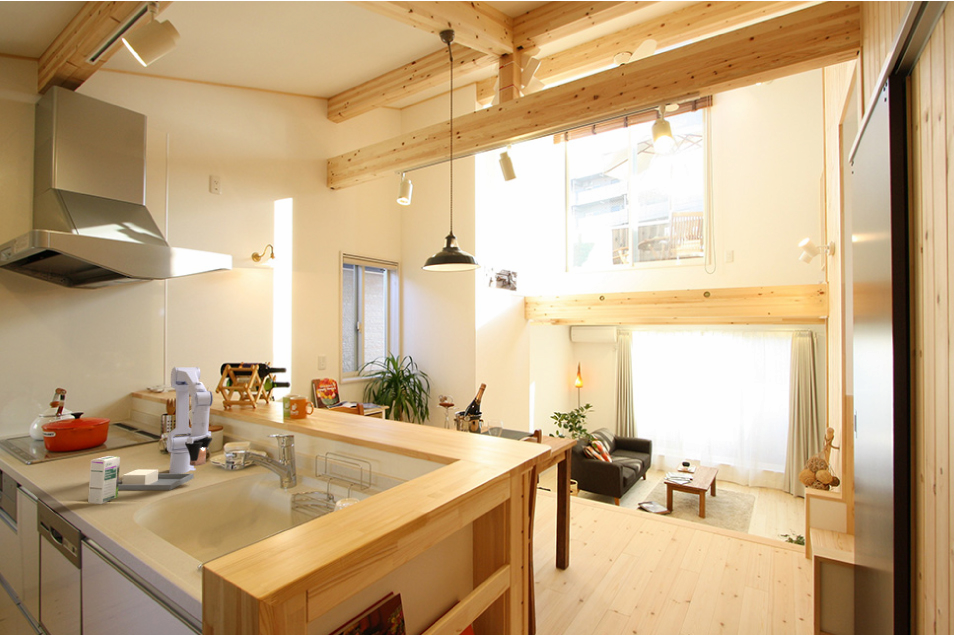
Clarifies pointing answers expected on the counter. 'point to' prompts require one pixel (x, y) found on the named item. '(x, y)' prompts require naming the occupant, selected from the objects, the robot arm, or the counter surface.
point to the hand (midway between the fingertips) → (197, 458)
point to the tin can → (200, 458)
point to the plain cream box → (140, 477)
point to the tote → (159, 482)
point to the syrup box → (104, 479)
